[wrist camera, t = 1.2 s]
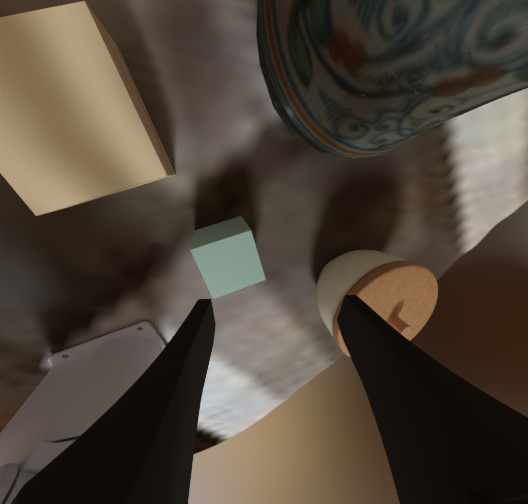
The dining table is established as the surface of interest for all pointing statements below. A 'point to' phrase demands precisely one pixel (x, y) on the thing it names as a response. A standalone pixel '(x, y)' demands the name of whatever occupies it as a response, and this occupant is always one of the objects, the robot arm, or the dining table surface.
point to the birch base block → (71, 112)
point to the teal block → (227, 256)
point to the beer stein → (387, 66)
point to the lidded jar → (377, 290)
